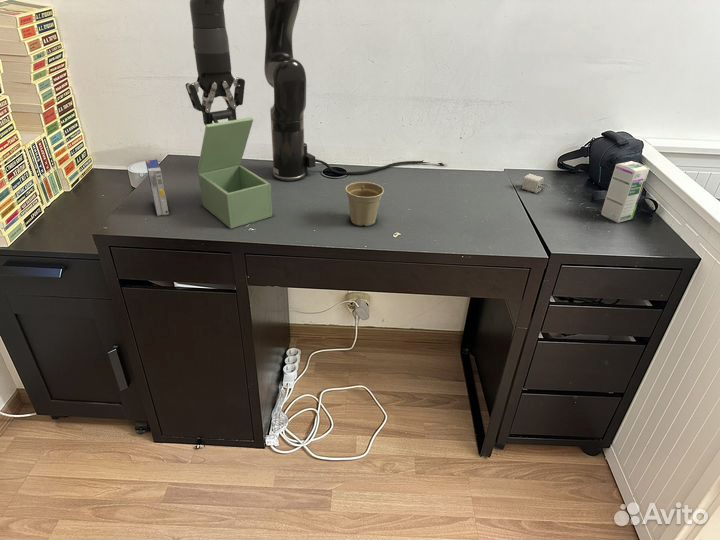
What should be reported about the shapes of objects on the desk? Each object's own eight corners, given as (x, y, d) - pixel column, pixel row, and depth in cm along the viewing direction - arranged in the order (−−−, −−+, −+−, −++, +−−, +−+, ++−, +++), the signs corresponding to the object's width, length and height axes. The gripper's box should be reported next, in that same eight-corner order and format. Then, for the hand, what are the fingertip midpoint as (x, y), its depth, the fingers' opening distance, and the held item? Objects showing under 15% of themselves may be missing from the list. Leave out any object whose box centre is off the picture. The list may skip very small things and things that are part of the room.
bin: (272, 216, 127) (270, 183, 122) (230, 228, 121) (226, 194, 116) (243, 195, 137) (240, 164, 132) (202, 205, 131) (198, 173, 126)
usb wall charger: (527, 185, 150) (530, 173, 148) (549, 192, 147) (553, 179, 145) (521, 189, 148) (524, 176, 146) (543, 196, 144) (547, 183, 142)
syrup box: (617, 223, 131) (636, 170, 123) (599, 214, 135) (616, 162, 127) (632, 219, 133) (651, 167, 125) (613, 210, 138) (631, 159, 130)
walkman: (153, 203, 131) (144, 159, 124) (165, 202, 132) (156, 158, 125) (157, 216, 125) (148, 170, 118) (169, 214, 126) (160, 168, 119)
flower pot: (386, 216, 129) (388, 185, 125) (375, 232, 122) (377, 199, 117) (352, 210, 132) (353, 179, 127) (339, 225, 124) (339, 193, 119)
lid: (253, 119, 119) (242, 101, 120) (207, 127, 112) (196, 108, 114) (240, 164, 132) (231, 147, 133) (198, 173, 126) (189, 156, 127)
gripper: (187, 54, 105) (199, 134, 114) (249, 49, 113) (255, 124, 122) (173, 49, 110) (185, 127, 119) (233, 44, 118) (240, 118, 127)
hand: (221, 125), depth 120 cm, fingers closed on lid, 5 cm apart
